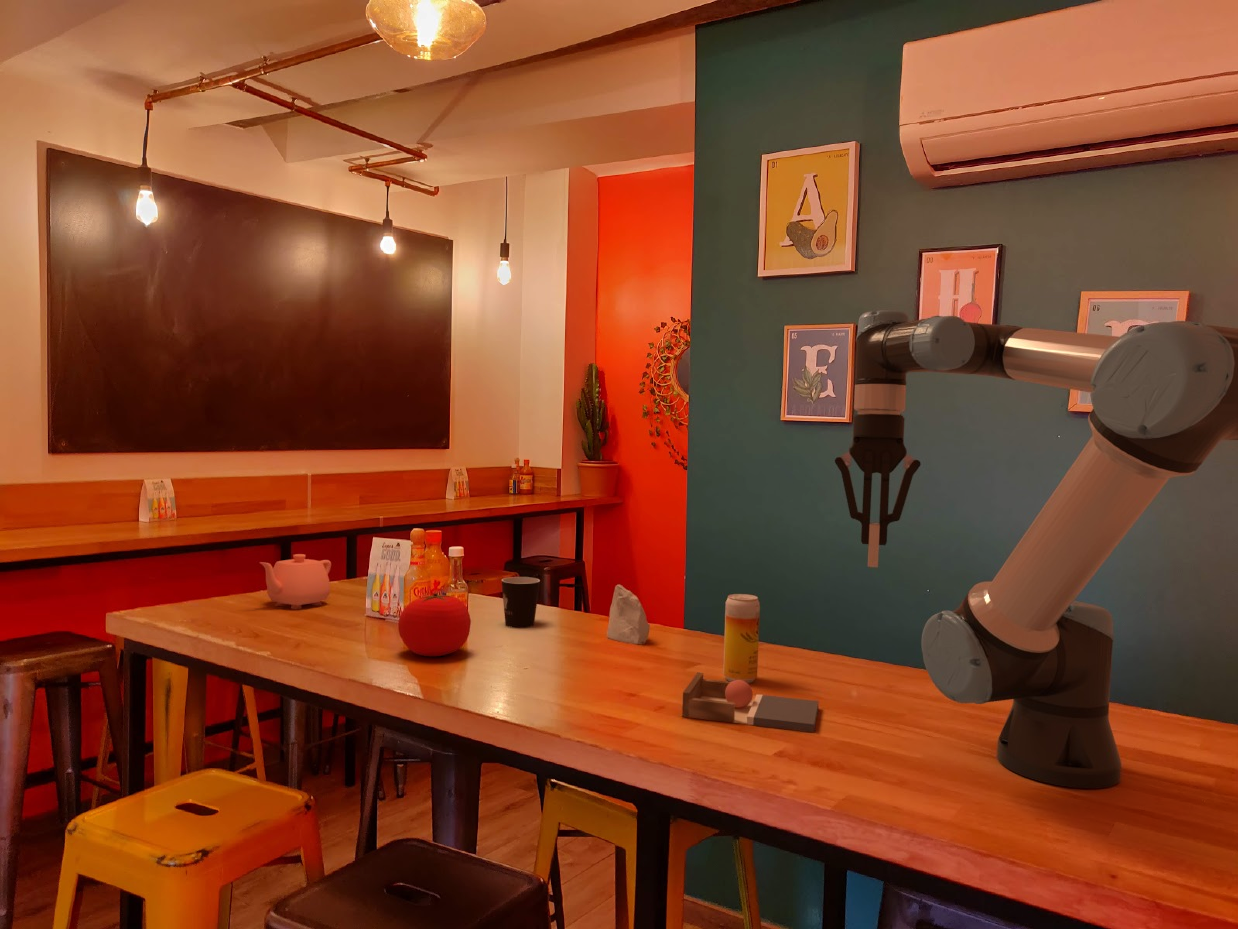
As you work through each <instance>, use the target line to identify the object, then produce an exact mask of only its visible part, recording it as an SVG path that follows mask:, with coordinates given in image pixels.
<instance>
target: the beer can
mask: <svg viewBox="0 0 1238 929" xmlns="http://www.w3.org/2000/svg"><path fill="white" fill-rule="evenodd" d="M760 604H761V603H760V601H759V598H758V596H757V595H752V594H747V593H746V594H745V593H744V594H743V593H734V594H732V593H731V594H729V595H727V599H726V601H725V608H724V609H725V610H724V612H725V613H724V636H723V638H724V639H723V670H722V672H723V673H722V674H723V676H724V677H725V679H726V681H727V682H732V681H734V680H743V681H745V682H746V683H748V684H750V683H753V682H755V679H756V678H757V677H758V668H759V667H758V665H759V663H758V662H759V642H760V641H759V635H760V611H761V606H760Z"/></svg>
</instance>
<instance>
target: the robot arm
mask: <svg viewBox="0 0 1238 929" xmlns="http://www.w3.org/2000/svg"><path fill="white" fill-rule="evenodd" d="M855 343H856V347H855V348H856V349H855V350H856V351H855V385H854V398H853V400H854V401H853V402H854V403H853V409H854V410H855V412H856V411H857V414H855V415H854V416H853V425H852V426H853V428H852V432H853V433H852V441H851V442H852V443H851V444H850V446H849V448H848V452H846V453H844V454H842V455H841V456H838V457H836V458H835V459H834V463H835V465H836V466H837V468H838V470H839V472H841V478H842V482H843V489H844V492H845V493H844V494H845V497H846V502H847V503H846V504H847V506H848V511H849V516H850V518H851V519H852V520H856V521H858V522H860V524H861V534H860V535H861V536H860V538H861V539H860V540H861V541H860V542H861V544H862V545H868V550H867V552H868V553H867V554H868V555H867V567H869V568H879V555H880V554H879V553H880V550H879V549H880V548H879V547H880V546H886V545H887V542H888V526H889V525H890V524H891V523H894V522H898V521H900V520H901V517H902V514H903V510H904V507H905V503H906V500H907V497H908V493H909V490H910V487H911V484H912V479H913V478H914V475H915V473H916V472H917V471H918V470H919V468H920V467H921V464H922V462H921V461H920V460H918V459H916V458H914V457H912V456H911V455H909V454H908V452H907V448H906V446H905V443H904V442H905V441H904V440H905V419H906V418H905V417H904V415H902V412H904V411H906V395H907V394H906V392H907V374H908V373H909V374H910V373H928V372H929V373H940V374H941V373H942V374H943V373H945V374H960V375H975V376H976V375H977V376H988V377H996V378H1000V379H1001V378H1002V379H1008V380H1014V381H1021V382H1027V383H1031V384H1032V383H1035V384H1038V385H1039V384H1040V385H1046V386H1051V387H1057V388H1061V389H1062V388H1063V389H1069V390H1073V391H1079V392H1085V393H1089V394H1090V402H1091V405H1092V410H1091V411H1090V412H1089V414H1088V417H1087V421H1088V424H1089V425H1088V426H1089V427H1090V430H1091V433H1092V436H1091V437H1090V438H1089V440H1088V441H1087V443H1086V444H1085V446H1084V447H1083V449H1082V451H1081V452H1080V453H1079V455H1078V456H1077V458H1076V459H1075V461H1074V462H1073V463H1072V465H1071V466H1070V467H1069V469H1068V470H1067V472H1066V474H1065V475H1064V477H1063V478H1062V479H1061V481H1060V482H1059V484H1058V485H1057V487H1056V488H1055V489H1054V491H1053V493H1052V494H1051V496H1050V497H1049V498H1048V500H1047V501H1046V502H1045V504H1044V506H1043V507H1041V508H1042V509H1040V511H1039V513H1038V514H1037V516H1036V517H1035V519H1033V522H1032V523H1031V525H1030V526H1029V527H1028V529H1027V530H1026V531H1025V533H1024V534H1023V536H1022V537H1021V538H1020V540H1019V542H1018V543H1017V544H1016V546H1015V547H1014V549H1013V550H1012V552H1011V553H1010V555H1009V557H1008V558H1007V559H1006V561H1005V562H1003V565H1002V567H1001V568H999V570H998V572H997V573H996V575H995V576H994V577H993V580H992V581H991V580H990V581H982V582H979V583H976V584H974V586H973V587H972V588H970V590H969V591H968V592H967V594H966V596H965V597H964V598H963V600H962V601H961V603H960V605H959V606H958V607H957V608H956V609H954V610H953V611H951V610H949V609H947V610H942V611H940V612H937V613H936V614H933V615H932V616H930V618H928V620H927V621H926V623H925V624H924V627H923V629H922V634H921V644H920V645H921V653H922V657H923V658H922V659H923V663H924V666H925V668H926V671H927V674H928V676H929V678H930V680H931V682H932V683H933V684H934V686H935V687H936V688H937V689H938V691H939V692H940V693H941V694H942V695H944V696H945V697H946V698H947V699H949V700H950V701H953V702H955V703H956V702H957V703H959V704H976V705H985V704H987V703H994V702H1000V701H1009V700H1013V701H1012V704H1011V708H1010V710H1009V713H1008V716H1007V717H1006V721H1005V722H1004V724H1003V726H1002V729H1001V732H1000V734H999V736H998V739H997V746H996V759H997V761H998V762H999V763H1000V765H1002V766H1003V767H1005V768H1006V769H1008V770H1010V771H1011V772H1014V773H1016V774H1018V775H1020V776H1022V777H1025V778H1028V779H1030V780H1031V779H1032V780H1035V781H1038V782H1041V783H1046V784H1049V785H1053V786H1054V785H1055V786H1059V787H1067V788H1075V789H1103V788H1104V789H1105V788H1109V787H1112V786H1113V787H1114V786H1115V785H1117V784H1118V783H1120V781H1121V779H1122V778H1121V777H1122V776H1121V775H1122V760H1121V757H1120V754H1119V750H1118V747H1117V743H1116V741H1115V736H1114V733H1113V730H1112V726H1111V724H1110V723H1111V722H1110V718H1109V715H1110V714H1109V713H1110V712H1109V710H1110V696H1111V694H1110V692H1111V678H1112V665H1113V664H1112V663H1113V662H1112V660H1113V646H1114V642H1115V637H1114V633H1113V632H1114V631H1113V630H1114V626H1113V624H1114V622H1113V616H1112V614H1111V613H1110V612H1109V611H1108V609H1106V608H1104V607H1102V606H1098V605H1095V604H1091V603H1089V602H1088V603H1087V602H1083V601H1078V600H1075V599H1077V597H1078V596H1079V594H1080V593H1081V592H1082V590H1083V589H1085V587H1086V586H1087V584H1088V583H1089V582H1090V580H1092V578H1093V576H1095V574H1096V572H1097V571H1098V570H1099V569H1100V567H1101V566H1102V565H1103V564H1104V562H1106V560H1107V559H1108V558H1109V556H1110V555H1111V553H1112V552H1113V551H1114V549H1116V547H1117V546H1118V544H1120V542H1121V541H1122V539H1123V538H1124V537H1125V536H1126V534H1127V533H1128V532H1129V530H1130V529H1131V528H1132V527H1133V525H1134V524H1135V523H1136V522H1137V520H1138V519H1139V518H1140V516H1142V514H1143V513H1144V512H1145V510H1146V508H1148V507H1149V505H1150V504H1151V502H1152V501H1153V499H1154V498H1155V497H1156V496H1157V495H1158V494H1159V492H1160V491H1161V490H1162V489H1163V487H1164V486H1165V484H1166V483H1167V482H1168V481H1169V480H1170V479H1171V478H1174V477H1175V478H1176V477H1183V476H1189V475H1193V474H1194V473H1195V472H1196V471H1197V470H1198V469H1199V467H1200V466H1201V465H1202V464H1203V462H1204V461H1205V460H1206V459H1207V457H1209V455H1210V454H1211V453H1212V451H1213V450H1214V449H1215V448H1216V447H1217V445H1218V444H1219V443H1220V442H1221V440H1222V441H1224V440H1225V441H1238V328H1235V327H1228V326H1227V327H1225V326H1219V325H1209V324H1204V323H1202V322H1197V321H1192V320H1191V321H1189V320H1188V321H1187V320H1186V321H1184V320H1175V321H1168V322H1167V321H1162V322H1161V321H1160V322H1159V321H1158V322H1153V323H1147V324H1144V325H1140V326H1137V327H1135V328H1133V329H1130V330H1128V331H1127V332H1125V333H1123V334H1121V336H1116V335H1107V334H1106V335H1105V334H1095V333H1085V332H1072V331H1066V330H1065V331H1063V330H1055V329H1054V330H1052V329H1044V328H1033V327H1032V328H1031V327H1022V326H1019V325H1009V324H1006V325H1003V324H990V323H977V322H968V321H965V320H964V319H963V318H961V317H959V316H957V315H944V316H942V315H933V316H931V317H926V318H922V319H916V320H911V321H909V315H908V313H906V312H904V311H899V310H888V309H886V310H877V311H876V310H871V311H866V312H864V313H862V314H861V315H860V316H859V318H858V325H857V335H856V338H855ZM851 459H853V460H854V462H855V463H856V465H857V466H858V468H859V469H860V470H861V472H863V489H862V512H860V511H859V510H858V506H857V505H858V504H857V501H856V496H855V495H856V494H855V492H854V490H855V489H854V486H853V481H852V477H851V471H850V469H849V468H850V467H851V465H852V462H851ZM902 461H903V469H904V473H903V476H902V479H901V483H900V486H899V488H898V489H899V490H898V491H897V492H898V493H897V495H896V500H895V503H894V507H893V510H892V513H889V500H890V499H889V496H890V494H889V493H890V476H891V473H892V472H894V471H895V469H896V468H897V467H898V466H899V465H900V463H901V462H902ZM875 473H878V474H880V495H879V522H878V523H876V522H872V523H871V510H872V505H871V504H872V487H873V486H872V483H873V474H875Z"/></svg>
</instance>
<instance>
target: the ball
mask: <svg viewBox="0 0 1238 929" xmlns="http://www.w3.org/2000/svg"><path fill="white" fill-rule="evenodd" d="M729 682H730V681H729ZM753 696H754V695H753V689H752V687H751V686H750V683H746V682H745V681H743V680H734V681H732V682H730V683H729V684H728V686H727V687H726V690H725V697H726V700H727V702H733V703H735V708H743V707H746V706H747V705H748V704H749V703H750V702H751V700H753Z"/></svg>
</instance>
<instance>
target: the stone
mask: <svg viewBox="0 0 1238 929" xmlns="http://www.w3.org/2000/svg"><path fill="white" fill-rule="evenodd" d="M650 626H651V625H650V623H649V622H648V621H647V615H646V612H645V610H644V607H643V606H642V604H641V601H640V600H639V598H638V596H637V595H635V594H634V593H633V592H631V590H628V589H626V588H625V587H624V586H623V585H621V584H617V585H615V587H614V592H613V596H612V601H611V605H610V608H609V620H608V626H607V631H606V638H607V639H608V640H609V639H610V640H613V641H617V642H621V643H626V644H629V645H638V646H639V645H640V646H641V645H644V644H646V642H647V640H648V638H649V633H650Z"/></svg>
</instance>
